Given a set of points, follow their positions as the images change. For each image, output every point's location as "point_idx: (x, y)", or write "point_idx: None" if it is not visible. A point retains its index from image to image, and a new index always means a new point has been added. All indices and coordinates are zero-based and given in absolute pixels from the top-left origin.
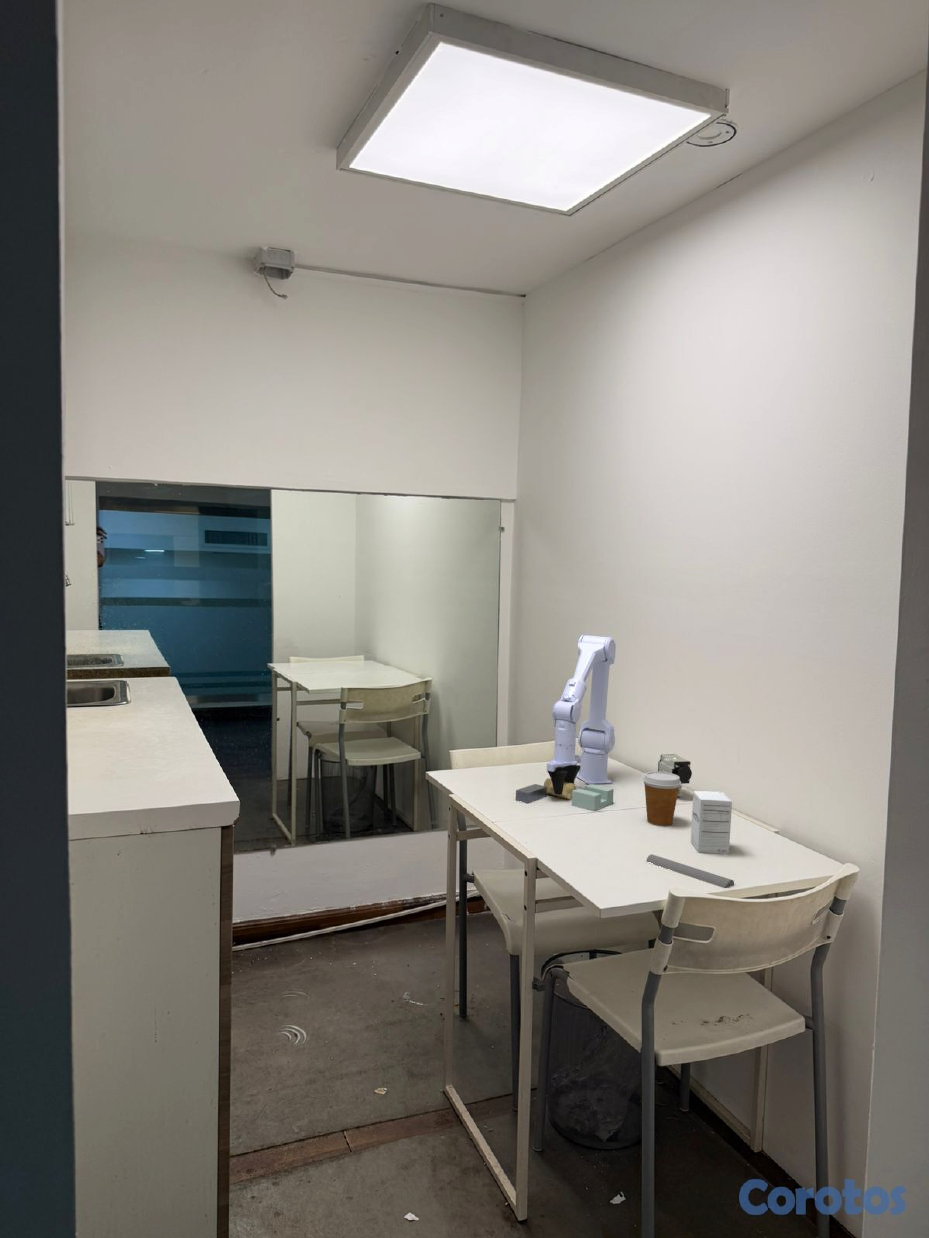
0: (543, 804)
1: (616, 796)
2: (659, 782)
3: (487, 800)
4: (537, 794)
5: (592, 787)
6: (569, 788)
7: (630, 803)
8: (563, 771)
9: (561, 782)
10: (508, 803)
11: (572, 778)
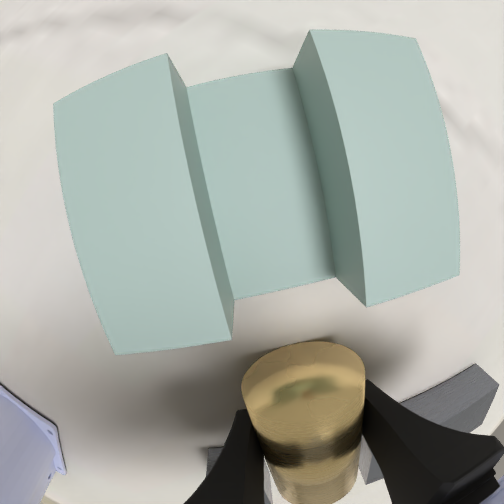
0: (461, 330)
1: (16, 236)
2: None
3: (489, 412)
4: (436, 406)
5: (194, 258)
6: (347, 385)
7: (45, 92)
8: (470, 478)
9: (425, 419)
10: (495, 378)
11: (247, 474)
